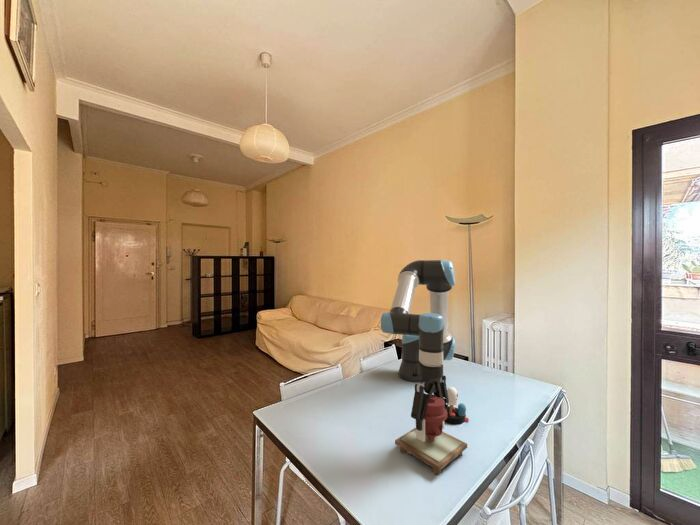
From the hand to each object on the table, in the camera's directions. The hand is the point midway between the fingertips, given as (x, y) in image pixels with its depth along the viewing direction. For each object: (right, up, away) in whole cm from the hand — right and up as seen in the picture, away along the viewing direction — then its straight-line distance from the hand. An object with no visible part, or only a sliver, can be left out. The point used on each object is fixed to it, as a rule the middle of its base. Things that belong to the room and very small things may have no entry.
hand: (430, 432), depth 92 cm
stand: (0, -6, 0) cm, 6 cm away
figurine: (+14, -7, +20) cm, 26 cm away
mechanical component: (0, -1, 0) cm, 1 cm away
